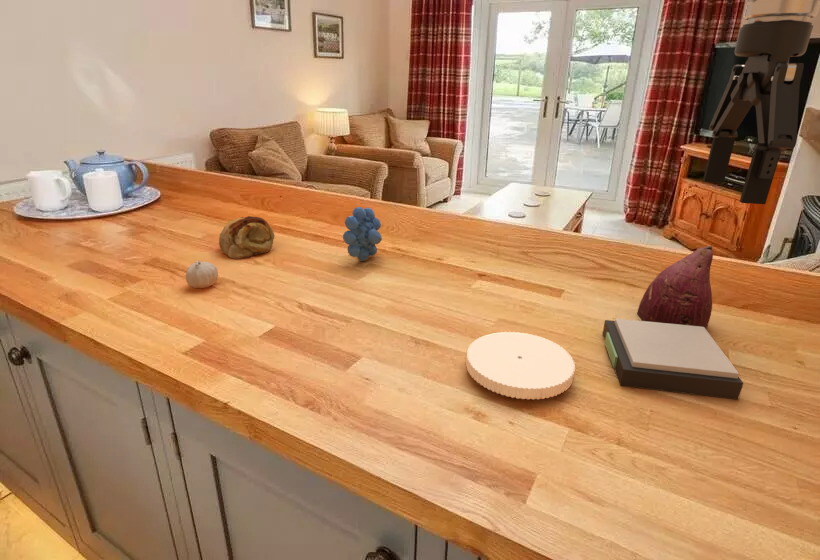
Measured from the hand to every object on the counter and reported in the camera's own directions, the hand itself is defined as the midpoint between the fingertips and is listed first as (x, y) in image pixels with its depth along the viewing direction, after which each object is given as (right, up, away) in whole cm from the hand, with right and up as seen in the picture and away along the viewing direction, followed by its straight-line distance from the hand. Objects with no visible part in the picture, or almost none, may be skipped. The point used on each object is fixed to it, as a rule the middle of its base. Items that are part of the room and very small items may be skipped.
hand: (730, 191), depth 69 cm
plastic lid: (-31, -25, -3) cm, 40 cm away
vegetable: (-2, -19, +12) cm, 23 cm away
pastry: (-81, -6, +41) cm, 91 cm away
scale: (-10, -24, 0) cm, 26 cm away
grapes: (-54, -9, +35) cm, 65 cm away
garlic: (-83, -14, +22) cm, 87 cm away
